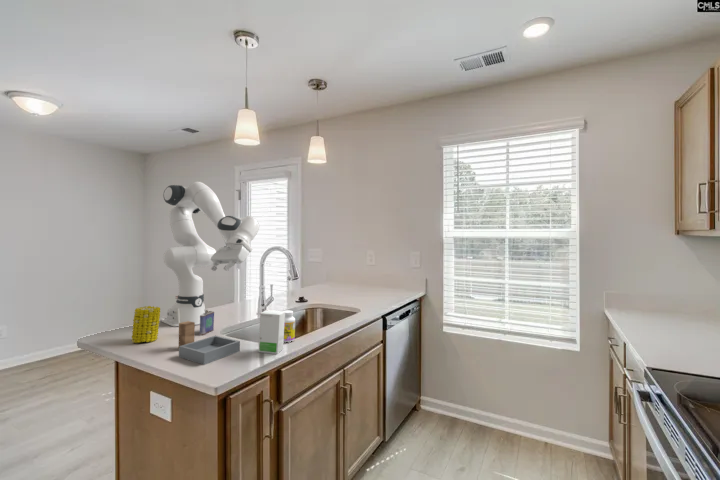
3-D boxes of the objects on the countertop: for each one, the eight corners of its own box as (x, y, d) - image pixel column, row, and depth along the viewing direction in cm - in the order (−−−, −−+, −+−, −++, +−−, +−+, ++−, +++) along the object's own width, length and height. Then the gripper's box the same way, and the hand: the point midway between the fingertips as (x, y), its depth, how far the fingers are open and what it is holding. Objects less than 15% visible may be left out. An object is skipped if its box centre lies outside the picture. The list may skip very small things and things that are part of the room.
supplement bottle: (276, 342, 145) (277, 312, 145) (282, 338, 151) (283, 309, 151) (291, 343, 144) (292, 313, 144) (296, 339, 150) (297, 310, 150)
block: (178, 348, 135) (179, 323, 135) (187, 345, 138) (188, 321, 138) (185, 349, 133) (185, 324, 133) (194, 347, 136) (194, 322, 136)
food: (126, 346, 139) (149, 340, 149) (147, 343, 135) (169, 338, 145) (123, 309, 141) (145, 306, 150) (143, 305, 137) (165, 302, 146)
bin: (178, 357, 125) (179, 346, 125) (215, 345, 139) (215, 335, 139) (204, 364, 119) (204, 353, 119) (239, 351, 133) (239, 341, 133)
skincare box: (257, 352, 132) (258, 313, 132) (264, 347, 138) (265, 309, 138) (278, 354, 131) (279, 314, 130) (284, 348, 137) (285, 310, 137)
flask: (203, 335, 152) (203, 311, 152) (197, 335, 152) (197, 311, 152) (215, 329, 161) (215, 307, 161) (209, 329, 161) (209, 307, 161)
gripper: (218, 242, 159) (200, 265, 151) (245, 240, 147) (228, 265, 139) (227, 251, 162) (210, 274, 155) (255, 249, 151) (238, 274, 143)
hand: (219, 270), depth 147 cm, fingers open, 8 cm apart
